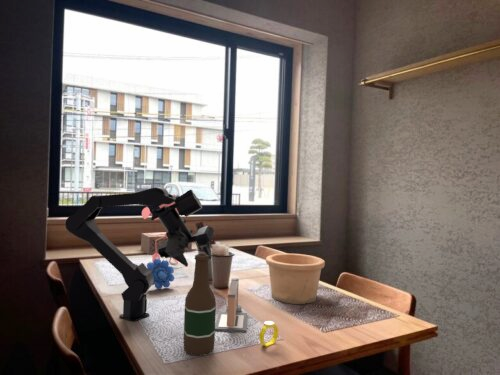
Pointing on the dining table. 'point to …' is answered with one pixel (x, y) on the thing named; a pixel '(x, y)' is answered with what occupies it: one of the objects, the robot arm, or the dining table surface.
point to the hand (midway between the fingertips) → (198, 262)
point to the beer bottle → (200, 311)
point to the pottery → (294, 277)
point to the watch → (263, 330)
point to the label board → (238, 324)
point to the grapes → (161, 273)
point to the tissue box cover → (150, 239)
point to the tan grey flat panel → (232, 301)
